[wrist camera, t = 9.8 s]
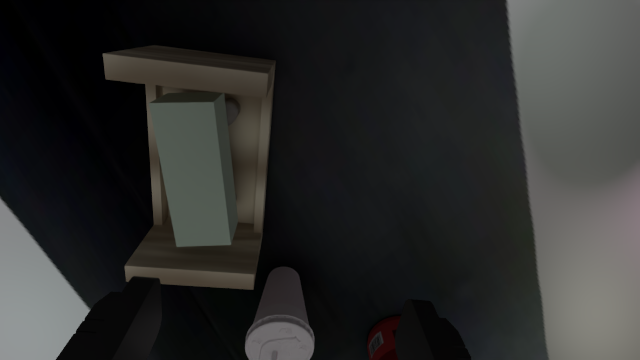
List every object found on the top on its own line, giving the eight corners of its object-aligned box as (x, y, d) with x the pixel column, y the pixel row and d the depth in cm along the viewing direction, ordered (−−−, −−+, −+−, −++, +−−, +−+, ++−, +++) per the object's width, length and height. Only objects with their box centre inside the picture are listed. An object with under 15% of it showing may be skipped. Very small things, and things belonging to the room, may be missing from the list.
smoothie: (244, 274, 41) (220, 388, 29) (290, 247, 40) (286, 352, 27) (277, 309, 44) (269, 429, 31) (322, 284, 43) (332, 397, 30)
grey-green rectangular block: (167, 92, 29) (148, 103, 26) (224, 92, 29) (213, 102, 26) (189, 222, 34) (176, 246, 30) (238, 221, 34) (231, 244, 31)
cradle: (154, 45, 31) (103, 53, 23) (275, 60, 32) (268, 73, 24) (163, 225, 38) (126, 281, 30) (262, 233, 39) (253, 289, 31)
